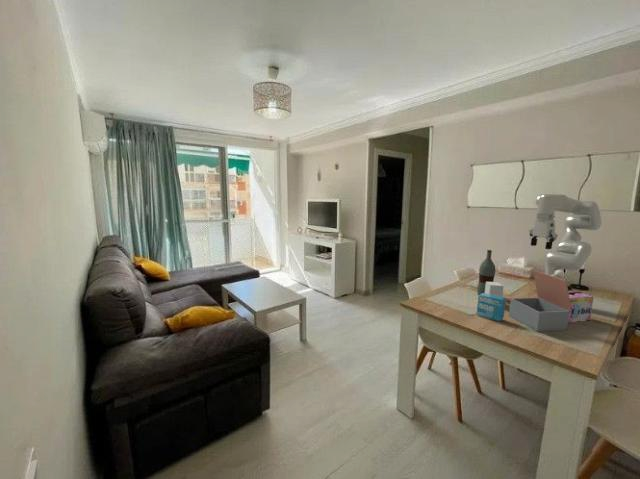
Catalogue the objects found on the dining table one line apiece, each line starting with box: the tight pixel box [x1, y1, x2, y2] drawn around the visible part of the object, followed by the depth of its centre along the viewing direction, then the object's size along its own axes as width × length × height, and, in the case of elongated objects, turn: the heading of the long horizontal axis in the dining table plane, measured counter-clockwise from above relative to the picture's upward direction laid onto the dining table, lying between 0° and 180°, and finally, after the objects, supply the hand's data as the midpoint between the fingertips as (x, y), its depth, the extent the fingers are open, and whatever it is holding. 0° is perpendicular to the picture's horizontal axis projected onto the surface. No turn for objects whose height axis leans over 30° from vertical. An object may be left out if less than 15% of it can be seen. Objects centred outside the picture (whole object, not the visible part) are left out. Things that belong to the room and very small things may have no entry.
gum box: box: [549, 291, 594, 323], centre depth 152 cm, size 24×8×14 cm, turn 101°
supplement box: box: [485, 281, 504, 297], centre depth 172 cm, size 7×7×13 cm
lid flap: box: [532, 269, 571, 311], centre depth 146 cm, size 17×18×8 cm
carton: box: [508, 297, 570, 333], centre depth 147 cm, size 16×18×10 cm
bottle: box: [476, 249, 496, 296], centre depth 185 cm, size 9×9×30 cm
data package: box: [476, 293, 506, 322], centre depth 153 cm, size 12×4×12 cm, turn 47°
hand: (540, 247), depth 161 cm, fingers open, 9 cm apart
